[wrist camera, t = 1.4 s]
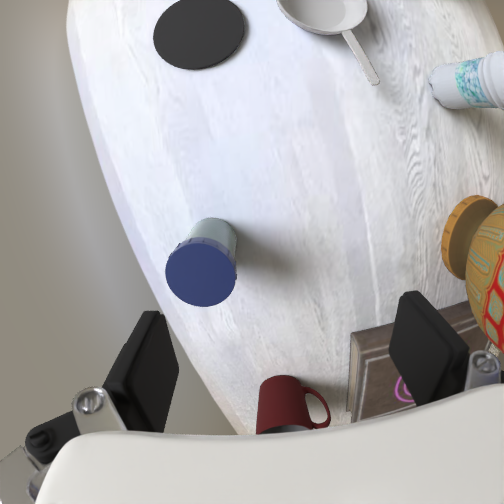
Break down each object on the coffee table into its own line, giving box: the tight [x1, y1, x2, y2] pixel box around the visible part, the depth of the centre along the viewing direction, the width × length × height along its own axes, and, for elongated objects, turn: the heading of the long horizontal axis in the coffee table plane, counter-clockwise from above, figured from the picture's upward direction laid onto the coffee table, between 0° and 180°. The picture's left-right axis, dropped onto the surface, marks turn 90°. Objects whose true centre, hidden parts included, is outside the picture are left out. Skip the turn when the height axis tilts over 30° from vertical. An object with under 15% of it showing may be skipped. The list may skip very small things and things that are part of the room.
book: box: [346, 300, 491, 423], centre depth 43 cm, size 30×22×5 cm
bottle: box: [429, 51, 504, 110], centre depth 18 cm, size 7×7×20 cm
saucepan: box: [276, 0, 380, 86], centre depth 24 cm, size 11×18×4 cm, turn 27°
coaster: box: [153, 0, 244, 70], centre depth 26 cm, size 11×11×1 cm
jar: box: [186, 218, 237, 258], centre depth 32 cm, size 6×6×9 cm
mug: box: [256, 375, 331, 435], centre depth 42 cm, size 12×9×11 cm
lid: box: [165, 237, 237, 307], centre depth 28 cm, size 7×7×2 cm
